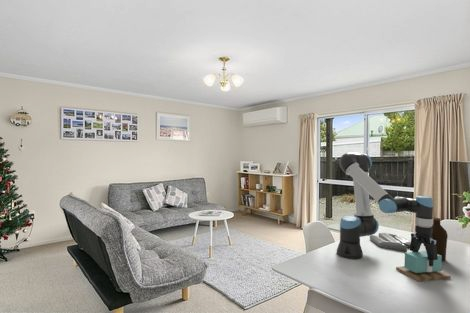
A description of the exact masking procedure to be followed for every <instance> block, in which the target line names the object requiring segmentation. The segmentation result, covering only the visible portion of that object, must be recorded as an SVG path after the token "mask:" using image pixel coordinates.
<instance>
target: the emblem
mask: <svg viewBox="0 0 470 313" xmlns="http://www.w3.org/2000/svg"><path fill="white" fill-rule="evenodd" d="M369 240H370V241H371V242H373V243H374V244H375V245H376V246H378V247H380V248H383V249H388V250H393V251H398V252H404V253H406V252H408V248H409V249H410V244H411V240H410V241H409V240H408V239H406V238H405V237H402V236H401V235H398V234H397V235H396V234H393V233H387V232H382V233H381V232H379V233H378V236H377V235H375V234H373V235H370V236H369Z"/></svg>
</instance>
